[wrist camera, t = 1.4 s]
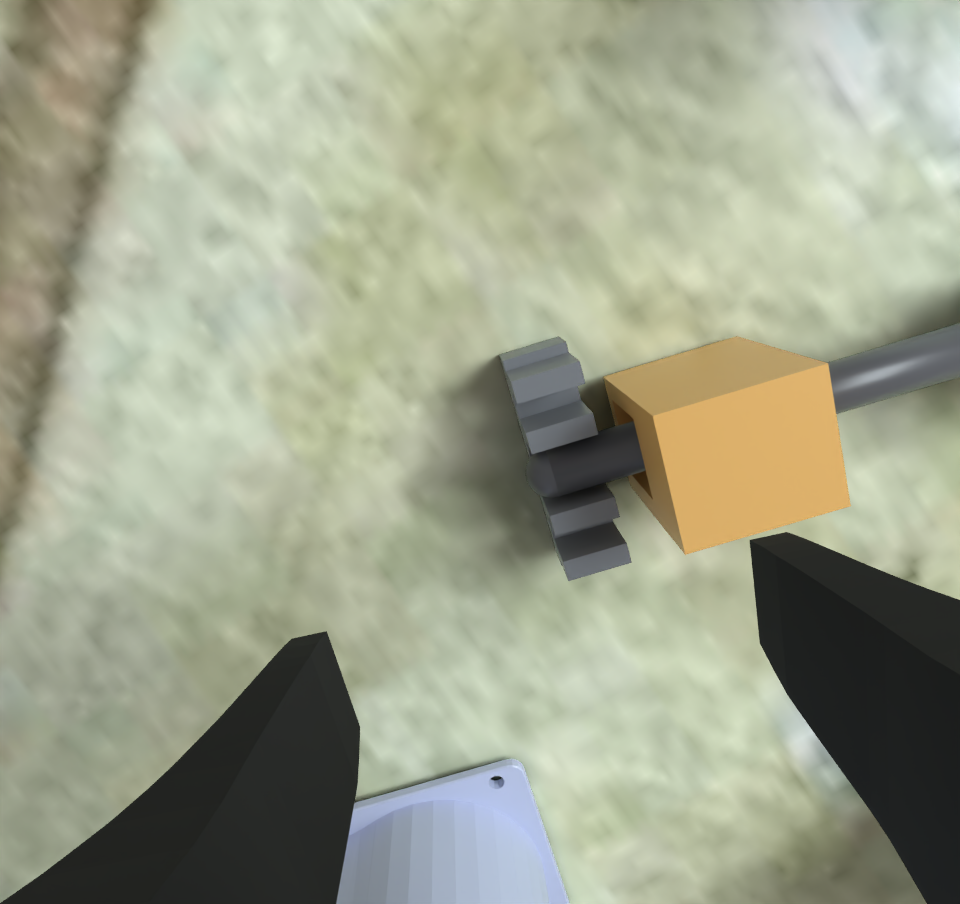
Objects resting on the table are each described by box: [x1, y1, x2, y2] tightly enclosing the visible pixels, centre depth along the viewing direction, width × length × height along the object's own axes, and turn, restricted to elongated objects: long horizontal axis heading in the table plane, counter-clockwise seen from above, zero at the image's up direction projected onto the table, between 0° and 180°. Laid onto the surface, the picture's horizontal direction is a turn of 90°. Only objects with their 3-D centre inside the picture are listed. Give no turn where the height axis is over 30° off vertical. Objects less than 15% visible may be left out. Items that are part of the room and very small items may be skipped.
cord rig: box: [499, 323, 960, 581], centre depth 20 cm, size 18×6×3 cm, turn 106°
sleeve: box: [603, 336, 851, 555], centre depth 19 cm, size 4×4×5 cm
